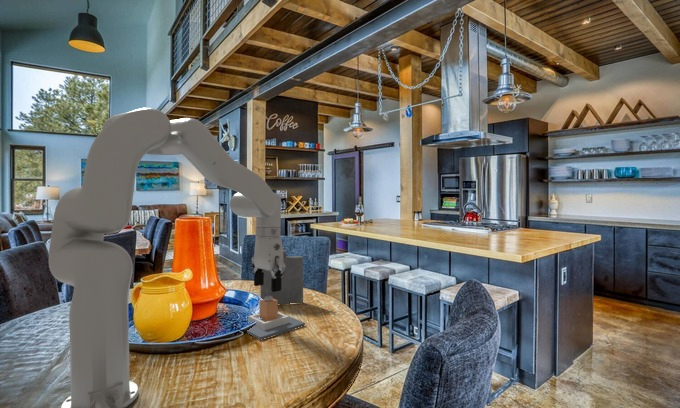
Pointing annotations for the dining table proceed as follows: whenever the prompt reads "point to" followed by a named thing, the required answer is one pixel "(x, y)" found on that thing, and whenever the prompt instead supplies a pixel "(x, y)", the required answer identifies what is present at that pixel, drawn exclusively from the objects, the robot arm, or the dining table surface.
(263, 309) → the connector plug
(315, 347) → the dining table surface
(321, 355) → the dining table surface
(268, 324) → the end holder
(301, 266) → the hip flask
